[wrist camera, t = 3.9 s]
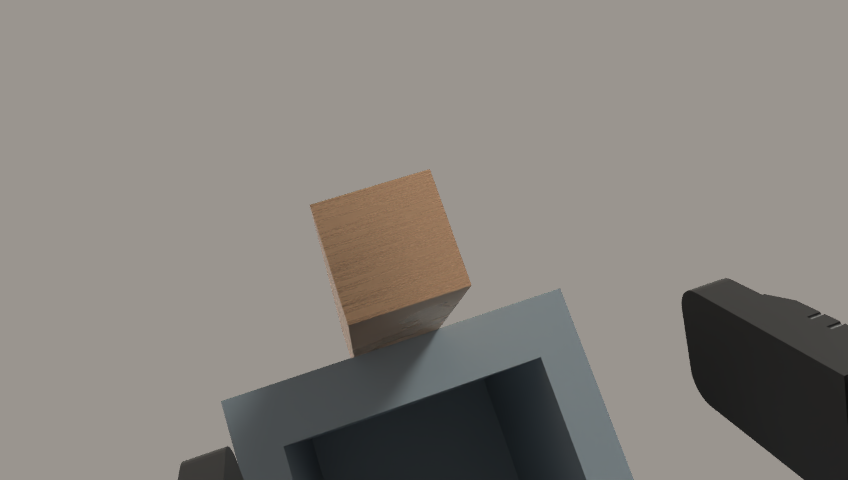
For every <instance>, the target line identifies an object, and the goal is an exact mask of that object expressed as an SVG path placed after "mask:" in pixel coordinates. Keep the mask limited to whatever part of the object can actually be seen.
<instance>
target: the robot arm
mask: <svg viewBox="0 0 848 480" xmlns="http://www.w3.org/2000/svg"><path fill="white" fill-rule="evenodd" d="M682 312H683V318H684V325H685V332H686V339H687V345H688V352H689V359H690V366H691V372H692V376H693V379H694V382H695V384H696V386H697V388H698V390H699V392H700V394H701V395H702V397H703V398H704V399H705V401H706V402H707V403H708V404H709V405H710V406H712V407H713V408H714V409H715V410H716V411H718V412H719V413H720V414H722V415H723V416H724V417H725V418H727V419H728V420H729V421H730V422H732V423H733V424H734V425H735V426H737V427H738V428H739V429H741V430H742V431H743V432H744V433H746V434H747V435H748V436H749V437H751V438H752V439H753V440H754V441H756V442H757V443H758V444H760V445H761V446H762V447H764V448H765V449H766V450H767V451H768V452H770V453H771V454H772V455H773V456H775V457H776V458H777V459H779V460H780V461H781V462H782V463H784V464H785V465H786V466H787V467H789V468H790V469H791V470H793V471H794V472H795V473H796V474H798V475H799V476H800V477H801V478H803V479H804V480H848V325H847V324H844V325H842V324H841V323H840V321H838V320H836V319H834V318H832V317H830V316H827V315H825V314H824V315H821V313H820V312H819V311H817V310H815V309H813V308H811V307H809V306H806V305H804V304H802V303H800V302H798V301H795V300H791V299H786V298H781V297H775V296H770V295H766V294H764V295H761V294H759V293H757V292H755V291H753V290H751V289H749V288H747V287H745V286H743V285H741V284H739V283H737V282H735V281H733V280H731V279H727V278H725V279H721V280H718V281H715V282H712V283H709V284H706V285H703V286H700V287H698V288H695V289H692V290H689V291H687V292H685V293H684V294H683V297H682ZM178 480H244V479H243V476H242V474H241V471H240V468H239V466H238V463H237V461H236V458H235V456H234V454H233V452H232V450H231V449H230V448H229V447H225V448H221V449H218V450H215V451H213V452H210V453H207V454H204V455H201V456H198V457H195V458H192V459H189V460H186V461H183V462H182V463H181V466H180V471H179V477H178Z"/></svg>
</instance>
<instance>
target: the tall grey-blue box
mask: <svg viewBox="0 0 848 480" xmlns="http://www.w3.org/2000/svg"><path fill="white" fill-rule="evenodd" d="M221 403H222V407H223V410H224V414H225V418H226V421H227V425H228V429H229V432H230V436H231V440H232V443H233V447H234V451H235V455H236V458H237V462H238V466H239V468H240V471H241V474H242V476H243V479H244V480H634V479H633V477H632V474H631V471H630V469H629V467H628V464H627V461H626V459H625V456H624V453H623V451H622V448H621V445H620V443H619V440H618V438H617V435H616V433H615V430H614V427H613V425H612V422H611V419H610V417H609V414H608V412H607V409H606V406H605V404H604V401H603V399H602V396H601V394H600V391H599V389H598V386H597V383H596V381H595V378H594V375H593V373H592V370H591V368H590V365H589V363H588V360H587V357H586V355H585V352H584V350H583V347H582V344H581V342H580V339H579V336H578V334H577V332H576V329H575V326H574V324H573V321H572V318H571V316H570V313H569V310H568V308H567V305H566V303H565V300H564V298H563V295H562V292H561V290H560V289H557V290H554V291H551V292H548V293H545V294H542V295H539V296H536V297H533V298H530V299H527V300H524V301H521V302H518V303H515V304H512V305H509V306H506V307H503V308H500V309H497V310H494V311H491V312H488V313H485V314H482V315H479V316H476V317H473V318H470V319H467V320H464V321H461V322H458V323H455V324H452V325H449V326H446V327H443V328H440V329H437V330H434V331H431V332H428V333H425V334H422V335H419V336H416V337H413V338H410V339H407V340H404V341H401V342H398V343H395V344H392V345H389V346H386V347H383V348H380V349H377V350H374V351H371V352H368V353H365V354H362V355H359V356H356V357H353V358H350V359H347V360H344V361H341V362H338V363H335V364H332V365H329V366H326V367H323V368H320V369H317V370H314V371H311V372H308V373H305V374H302V375H299V376H296V377H293V378H290V379H287V380H284V381H281V382H278V383H275V384H272V385H269V386H266V387H263V388H260V389H257V390H254V391H251V392H248V393H245V394H242V395H239V396H236V397H233V398H230V399H227V400H224V401H221Z"/></svg>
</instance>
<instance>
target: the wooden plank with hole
mask: <svg viewBox="0 0 848 480" xmlns="http://www.w3.org/2000/svg"><path fill="white" fill-rule="evenodd" d="M310 207H311V211H312V215H313V219H314V222H315V226H316V231H317V234H318V238H319V242H320V246H321V249H322V254H323V257H324V261H325V265H326V268H327V273H328V277H329V281H330V284H331V288H332V292H333V296H334V299H335V304H336V308H337V311H338V315H339V319H340V323H341V327H342V331H343V334H344V337H345V340H346V343H347V347H348V350H349V353H350V356H351V358H353V357H356V356H359V355H362V354H365V353H368V352H371V351H374V350H377V349H380V348H383V347H386V346H389V345H392V344H395V343H398V342H401V341H404V340H407V339H410V338H413V337H416V336H419V335H422V334H425V333H428V332H431V331H434V330H437V329H439V328H440V326H441V325H442V324H443V322H444V321H445V319H446V318H447V317H448V316H449V314H450V313H451V312H452V310H453V309H454V308H455V306H456V305H457V304H458V303H459V301H460V300H461V299H462V297H463V296H464V295H465V293H466V292H467V290H468V289H469V288H470V287H471V283H470V280H469V277H468V274H467V272H466V269H465V266H464V263H463V261H462V258H461V255H460V252H459V249H458V247H457V244H456V241H455V238H454V235H453V233H452V230H451V227H450V224H449V222H448V219H447V216H446V213H445V210H444V208H443V205H442V202H441V199H440V196H439V194H438V191H437V188H436V185H435V182H434V180H433V177H432V175H431V171H430V170H426V171H422V172H419V173H416V174H413V175H409V176H406V177H402V178H399V179H395V180H392V181H389V182H385V183H382V184H379V185H375V186H372V187H369V188H365V189H362V190H358V191H355V192H352V193H348V194H345V195H342V196H339V197H335V198H332V199H328V200H325V201H322V202H318V203H315V204H311V205H310Z"/></svg>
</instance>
